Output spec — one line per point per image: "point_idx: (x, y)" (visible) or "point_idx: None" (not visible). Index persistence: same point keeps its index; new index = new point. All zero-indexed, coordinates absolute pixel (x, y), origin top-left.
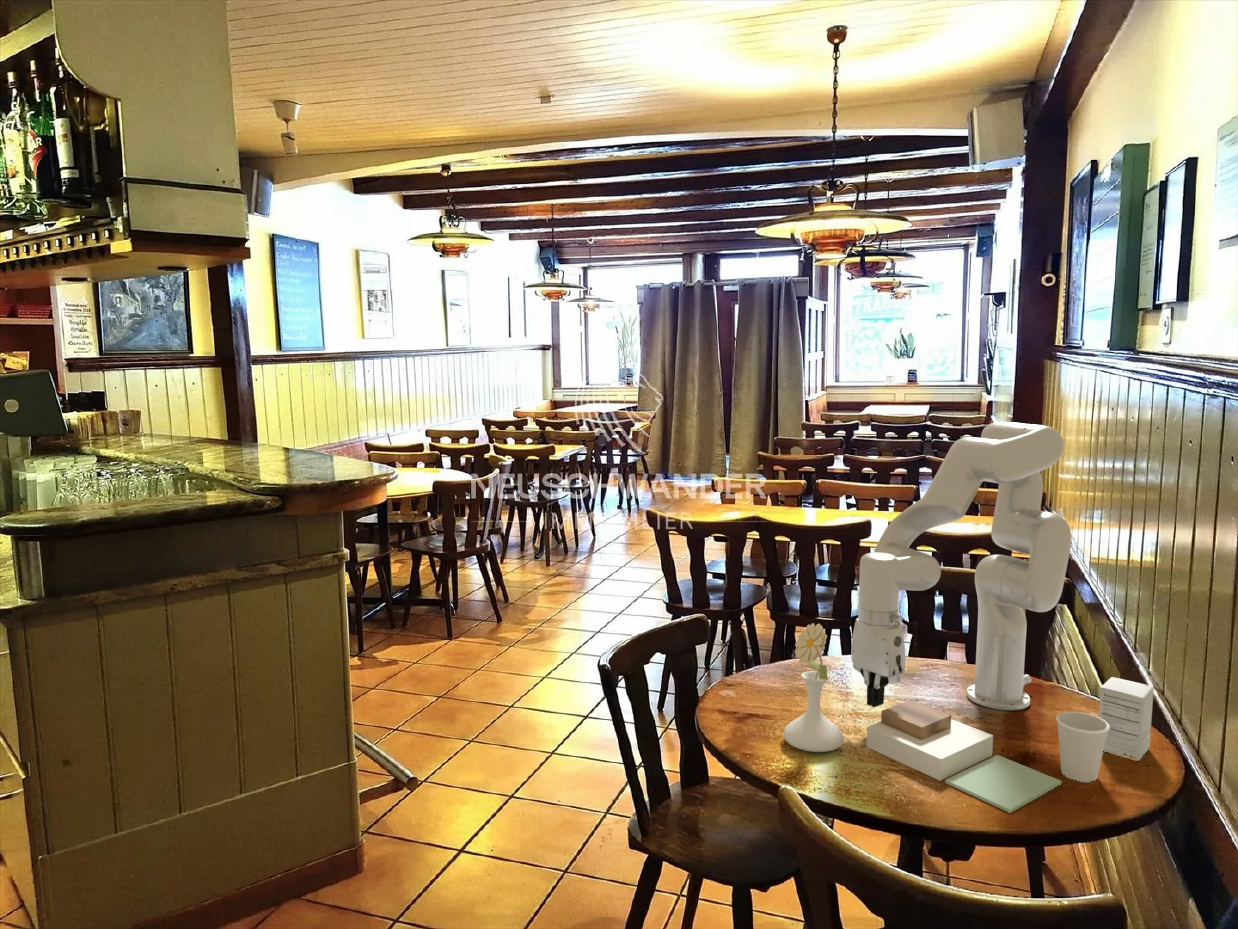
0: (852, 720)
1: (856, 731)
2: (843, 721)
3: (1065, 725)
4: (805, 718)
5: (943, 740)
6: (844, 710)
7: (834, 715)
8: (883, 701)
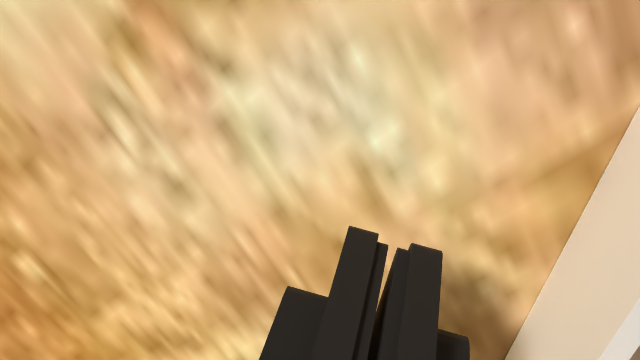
0: (214, 138)
1: (331, 271)
2: (183, 187)
3: None
4: None
5: None
6: (57, 7)
7: (82, 137)
8: (467, 340)
